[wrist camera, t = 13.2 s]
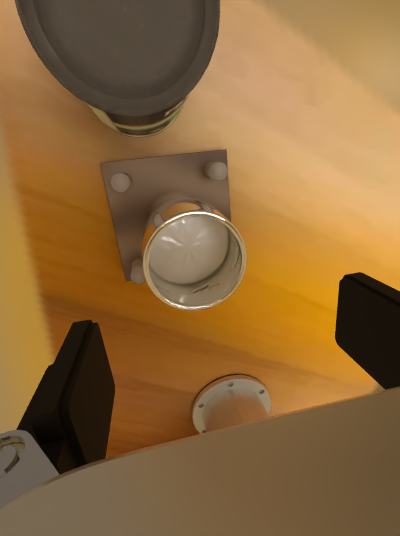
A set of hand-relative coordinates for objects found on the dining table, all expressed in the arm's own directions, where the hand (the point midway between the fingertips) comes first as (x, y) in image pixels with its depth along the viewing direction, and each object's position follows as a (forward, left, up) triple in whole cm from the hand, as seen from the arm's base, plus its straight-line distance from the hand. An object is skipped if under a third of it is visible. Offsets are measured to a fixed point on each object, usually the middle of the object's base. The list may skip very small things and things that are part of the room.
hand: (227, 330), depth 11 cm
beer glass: (0, 0, -23) cm, 23 cm away
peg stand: (0, 0, -24) cm, 24 cm away
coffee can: (+14, +2, -24) cm, 28 cm away
